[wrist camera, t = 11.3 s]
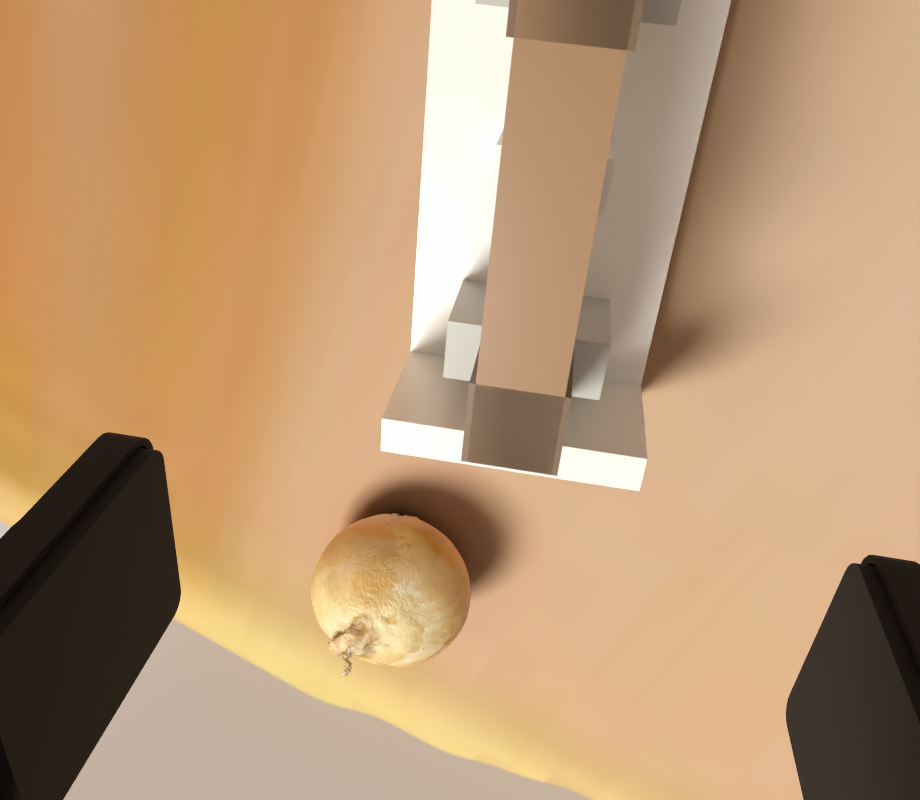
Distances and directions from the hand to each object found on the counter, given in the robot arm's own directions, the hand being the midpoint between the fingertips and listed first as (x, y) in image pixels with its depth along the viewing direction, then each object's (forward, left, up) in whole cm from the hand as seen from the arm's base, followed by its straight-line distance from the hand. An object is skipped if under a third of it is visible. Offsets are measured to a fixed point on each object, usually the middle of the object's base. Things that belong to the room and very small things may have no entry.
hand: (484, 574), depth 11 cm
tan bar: (0, 0, -19) cm, 19 cm away
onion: (+5, +22, -24) cm, 33 cm away
